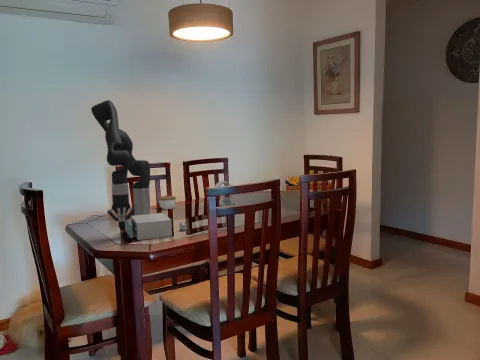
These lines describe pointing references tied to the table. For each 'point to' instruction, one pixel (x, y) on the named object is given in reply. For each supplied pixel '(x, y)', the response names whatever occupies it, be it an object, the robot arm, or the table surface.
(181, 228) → the stand
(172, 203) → the lidded jar
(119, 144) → the robot arm
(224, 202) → the headphones
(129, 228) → the grey drawer
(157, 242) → the table surface
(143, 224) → the housing
